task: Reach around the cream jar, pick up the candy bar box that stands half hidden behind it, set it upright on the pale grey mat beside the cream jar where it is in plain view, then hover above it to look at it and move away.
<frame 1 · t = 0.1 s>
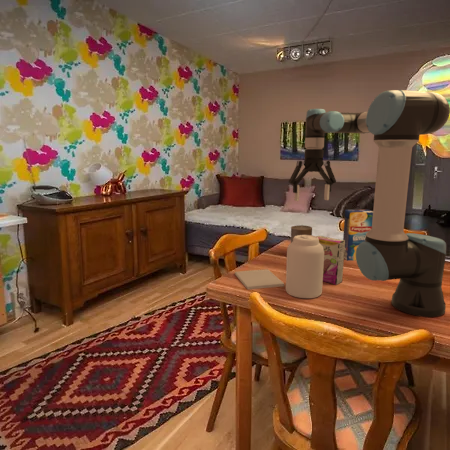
hand: (311, 200, 155), 28 cm above the table, tool pointing down, fingers open, 13 cm apart
pillar candle: (300, 256, 174), on the table
cream jar: (303, 292, 129), on the table
beverage box: (356, 258, 170), on the table
grey mat: (258, 279, 142), on the table
candy bar box: (326, 280, 141), on the table
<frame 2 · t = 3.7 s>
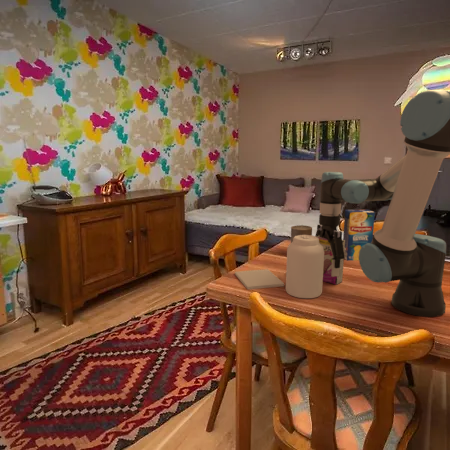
hand: (326, 270, 141), 4 cm above the table, tool pointing down, fingers closed on candy bar box, 12 cm apart
candy bar box: (326, 280, 141), on the table, touching gripper
everything else where it was.
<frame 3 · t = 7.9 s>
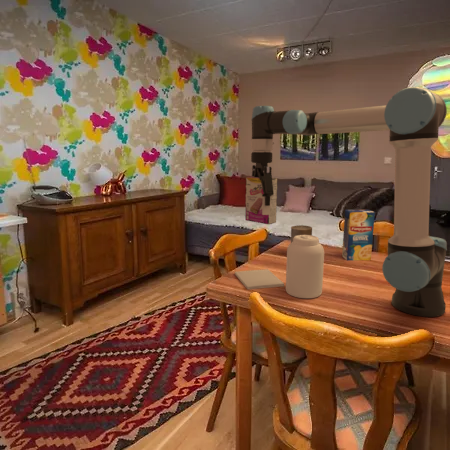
hand: (260, 211, 136), 26 cm above the table, tool pointing down, fingers closed on candy bar box, 12 cm apart
candy bar box: (260, 222, 137), point 22 cm above the table, touching gripper
everything else where it was.
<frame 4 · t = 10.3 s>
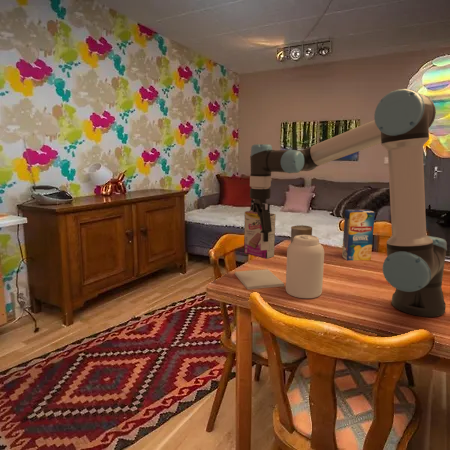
hand: (258, 245, 139), 14 cm above the table, tool pointing down, fingers closed on candy bar box, 12 cm apart
candy bar box: (258, 255, 140), point 10 cm above the table, touching gripper
everything else where it was.
when the fingers open (6 cm above the table, at t = 12.4 s): candy bar box drops 1 cm, resting on grey mat.
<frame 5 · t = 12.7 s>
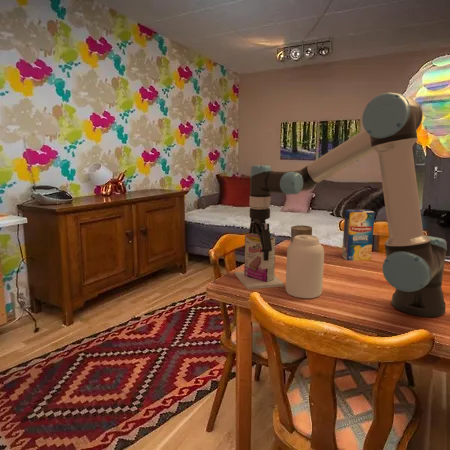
hand: (258, 263, 140), 7 cm above the table, tool pointing down, fingers open, 13 cm apart
candy bar box: (258, 278, 141), point 1 cm above the table, touching grey mat
everything else where it was.
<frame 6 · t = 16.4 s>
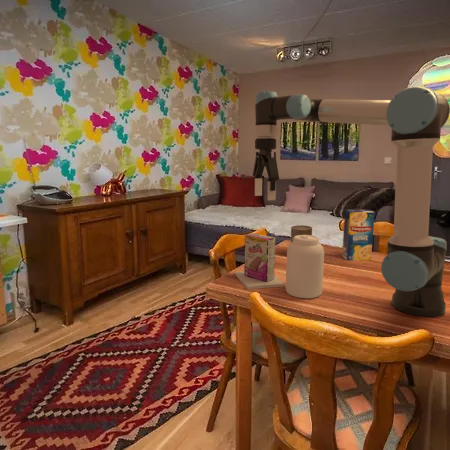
hand: (264, 197, 135), 32 cm above the table, tool pointing down, fingers open, 13 cm apart
nothing on the table moved.
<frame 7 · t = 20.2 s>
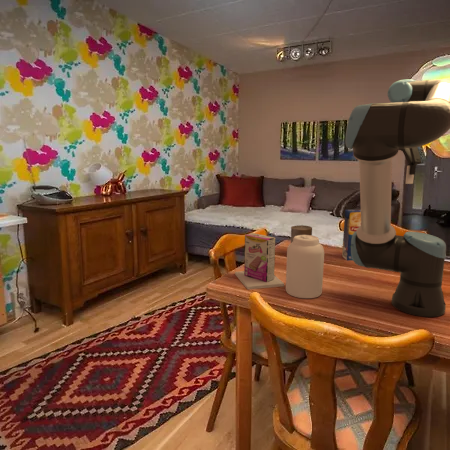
hand: (396, 182, 142), 37 cm above the table, tool pointing down, fingers open, 13 cm apart
nothing on the table moved.
at the end: candy bar box inside the target area on the grey mat (0.5 cm from its centre), point 0.8 cm above the grey mat's base; candy bar box tilted 0°; the gripper is holding nothing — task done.
